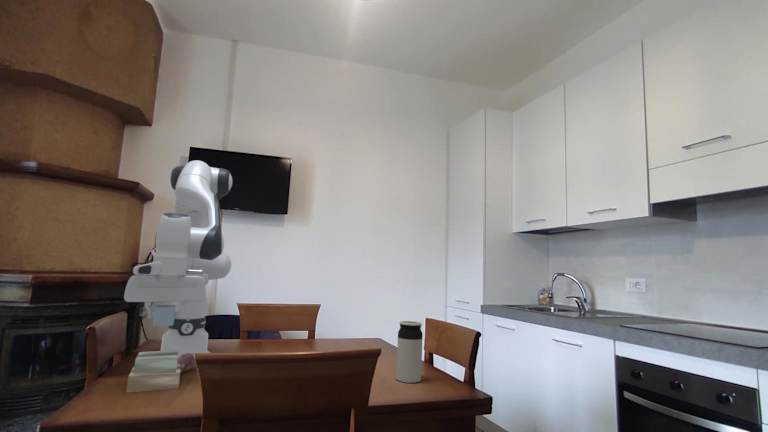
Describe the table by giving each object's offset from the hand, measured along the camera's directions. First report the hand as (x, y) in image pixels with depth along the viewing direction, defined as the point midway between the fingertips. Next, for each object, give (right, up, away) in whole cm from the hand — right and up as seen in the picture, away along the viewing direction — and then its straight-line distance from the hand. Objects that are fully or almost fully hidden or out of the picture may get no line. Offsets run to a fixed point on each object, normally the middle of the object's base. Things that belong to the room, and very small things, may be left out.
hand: (164, 318), depth 110 cm
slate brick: (0, -2, 0) cm, 2 cm away
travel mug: (+70, -24, +16) cm, 75 cm away
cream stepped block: (-2, -18, -1) cm, 18 cm away
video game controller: (-2, -21, +13) cm, 24 cm away
